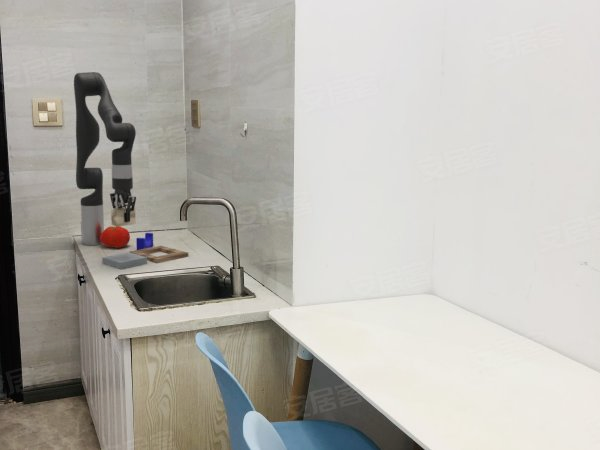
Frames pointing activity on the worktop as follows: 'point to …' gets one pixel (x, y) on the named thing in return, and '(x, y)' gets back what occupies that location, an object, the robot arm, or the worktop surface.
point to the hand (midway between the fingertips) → (123, 221)
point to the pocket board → (170, 256)
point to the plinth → (124, 260)
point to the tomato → (115, 237)
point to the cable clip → (145, 241)
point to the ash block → (121, 217)
